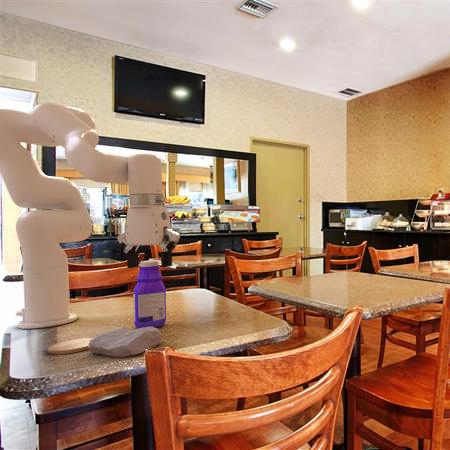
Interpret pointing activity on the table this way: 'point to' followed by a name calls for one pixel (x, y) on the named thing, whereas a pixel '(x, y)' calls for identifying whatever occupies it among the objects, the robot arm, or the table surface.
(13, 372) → the table surface
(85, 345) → the cork coaster
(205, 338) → the table surface
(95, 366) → the table surface
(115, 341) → the stone block
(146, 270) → the bottle
